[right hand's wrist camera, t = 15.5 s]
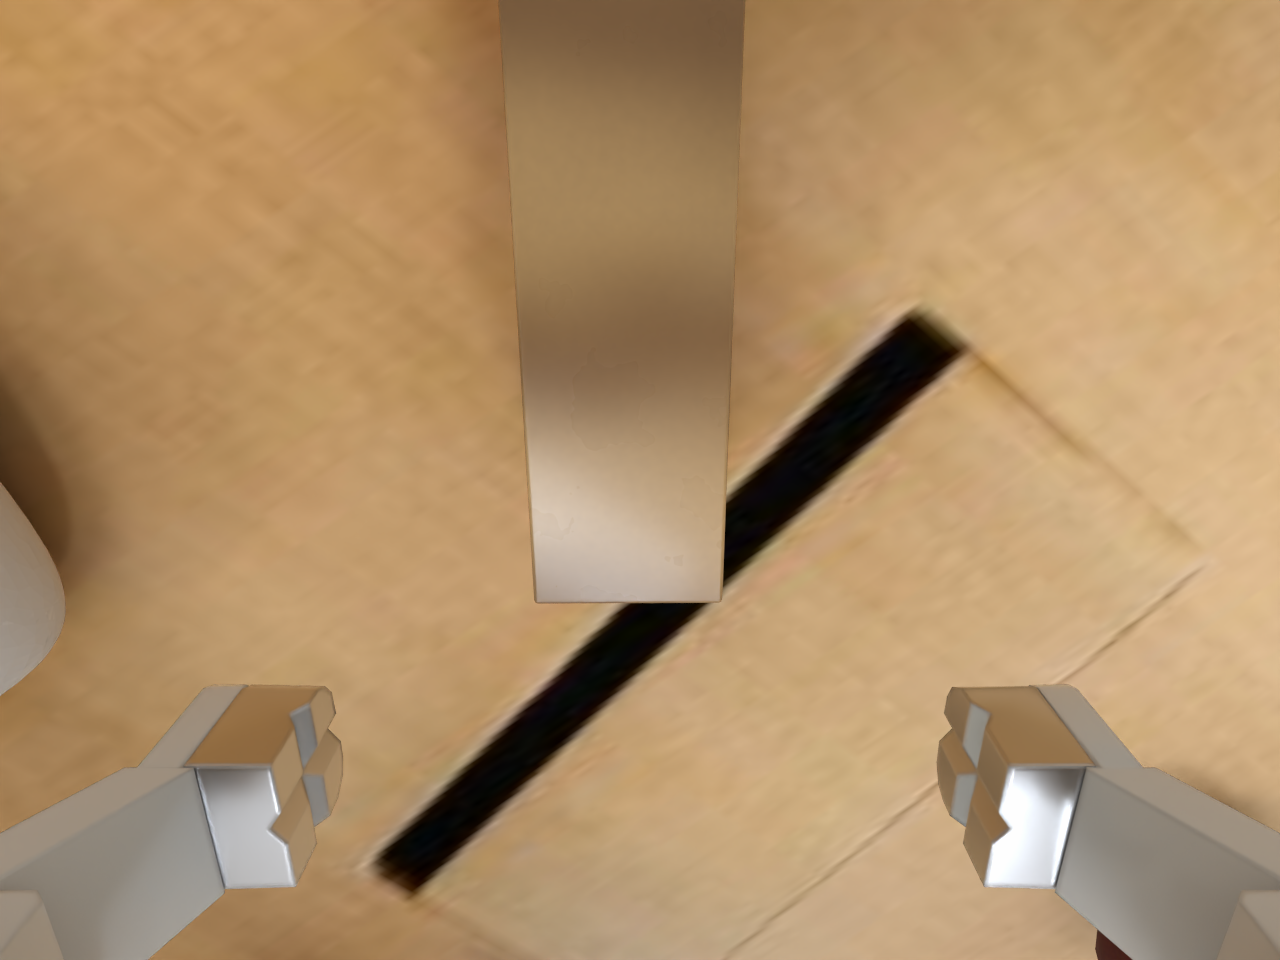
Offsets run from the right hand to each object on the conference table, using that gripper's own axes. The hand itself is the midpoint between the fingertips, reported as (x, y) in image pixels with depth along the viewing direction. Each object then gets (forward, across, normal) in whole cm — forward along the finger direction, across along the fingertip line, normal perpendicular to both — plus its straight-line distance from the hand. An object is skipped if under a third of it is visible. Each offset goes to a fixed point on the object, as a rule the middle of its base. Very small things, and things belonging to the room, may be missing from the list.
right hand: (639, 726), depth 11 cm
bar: (+18, 0, -9) cm, 20 cm away
